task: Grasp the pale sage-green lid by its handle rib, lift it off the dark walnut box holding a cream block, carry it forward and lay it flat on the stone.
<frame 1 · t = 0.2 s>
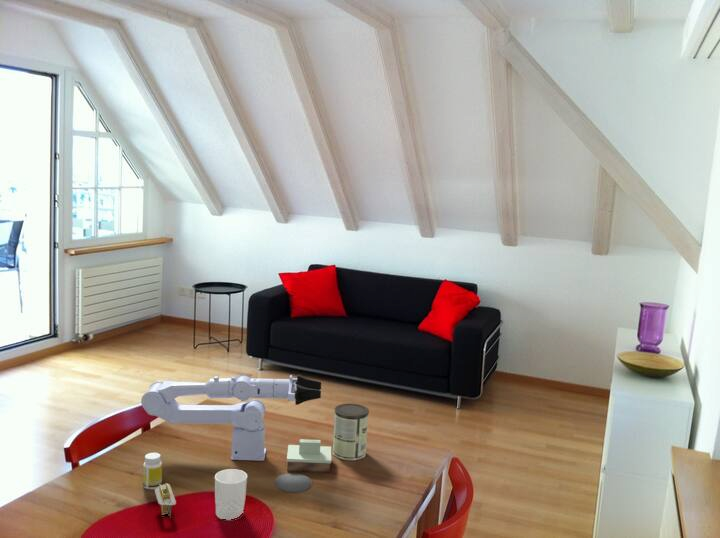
hand: (321, 389, 207), 21 cm above the table, tool horizontal, fingers open, 7 cm apart
lid: (309, 455, 205), point 3 cm above the table, touching box
box: (308, 464, 205), on the table
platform: (164, 513, 175), on the table
stone: (293, 483, 193), on the table
supplement bottle: (152, 486, 187), on the table
white cup: (229, 514, 176), on the table
coffee can: (348, 454, 215), on the table
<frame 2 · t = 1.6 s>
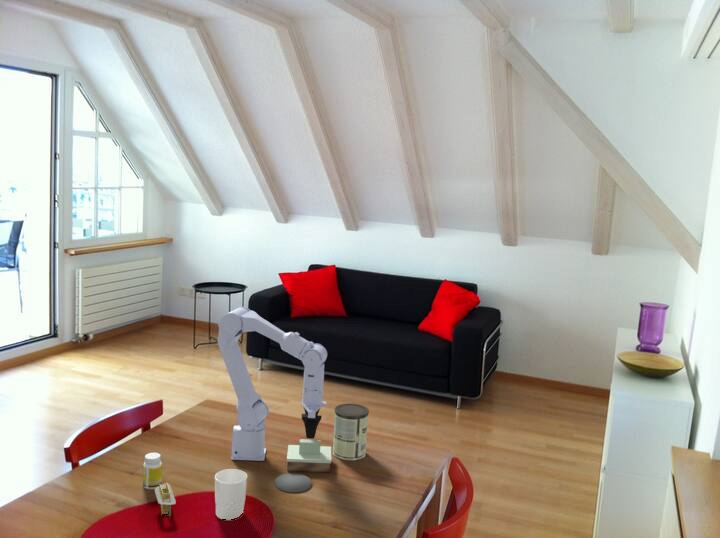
hand: (310, 432, 204), 10 cm above the table, tool pointing down, fingers open, 7 cm apart
nothing on the table moved.
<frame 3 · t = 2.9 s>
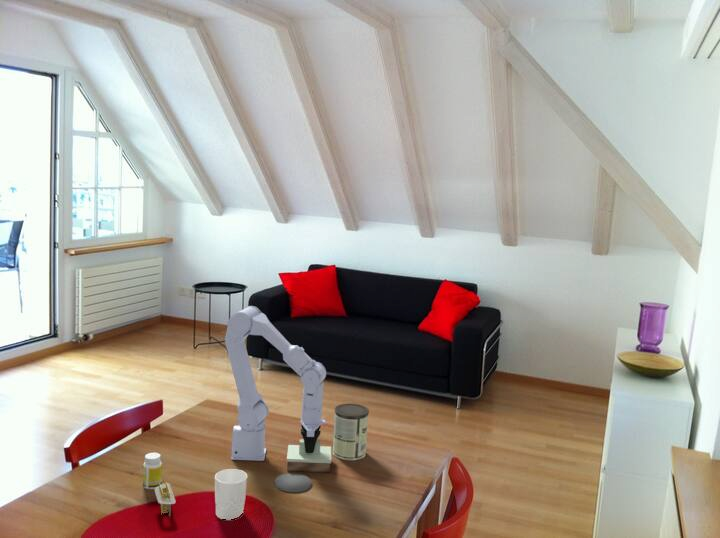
hand: (309, 450, 205), 4 cm above the table, tool pointing down, fingers closed on lid, 2 cm apart
lid: (309, 455, 205), point 3 cm above the table, touching box, gripper
everything else where it was.
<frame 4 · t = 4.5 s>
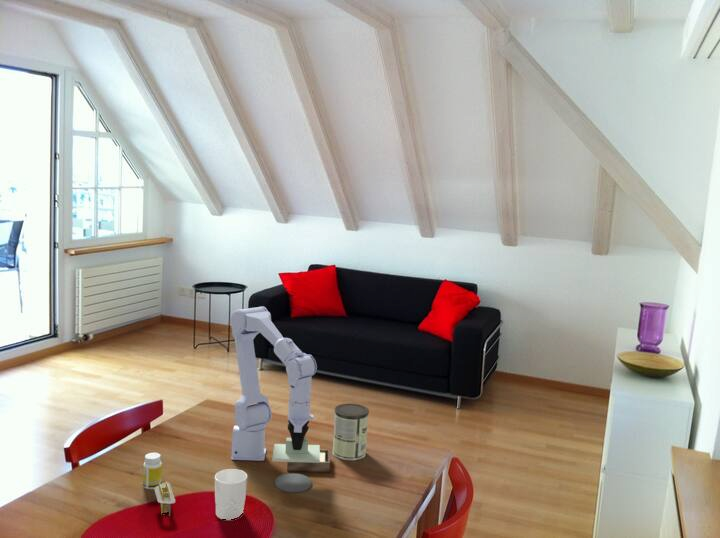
hand: (297, 447, 193), 10 cm above the table, tool pointing down, fingers closed on lid, 2 cm apart
lid: (296, 454, 193), point 8 cm above the table, touching gripper
everything else where it was.
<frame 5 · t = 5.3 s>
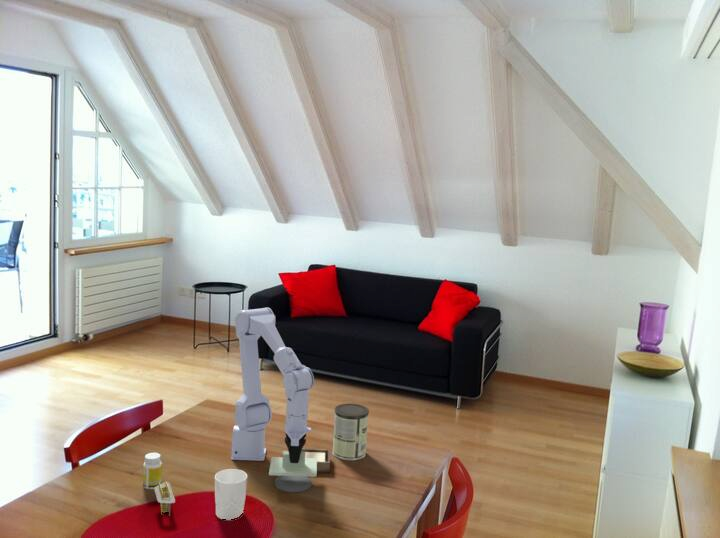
hand: (294, 460, 192), 7 cm above the table, tool pointing down, fingers closed on lid, 2 cm apart
lid: (293, 467, 192), point 5 cm above the table, touching gripper
everything else where it was.
when the fingers open (3 cm above the table, at t = 6.1 s): lid stays where it is, resting on stone.
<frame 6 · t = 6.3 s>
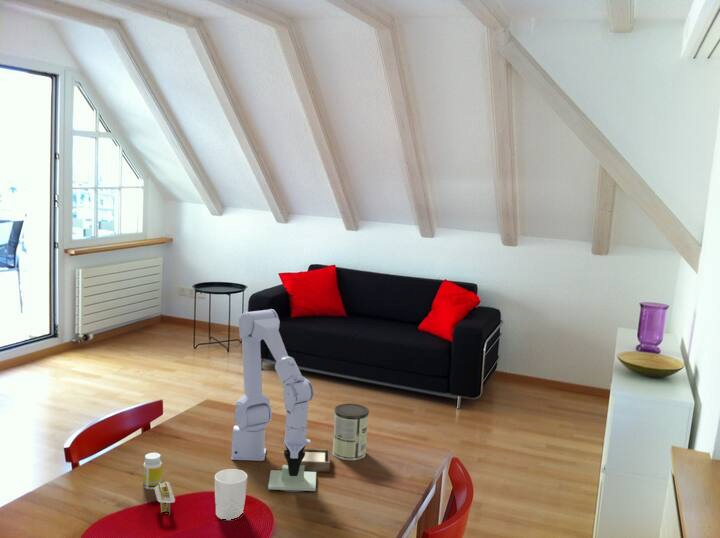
hand: (293, 472, 193), 3 cm above the table, tool pointing down, fingers open, 3 cm apart
lid: (292, 481, 193), point 1 cm above the table, touching stone
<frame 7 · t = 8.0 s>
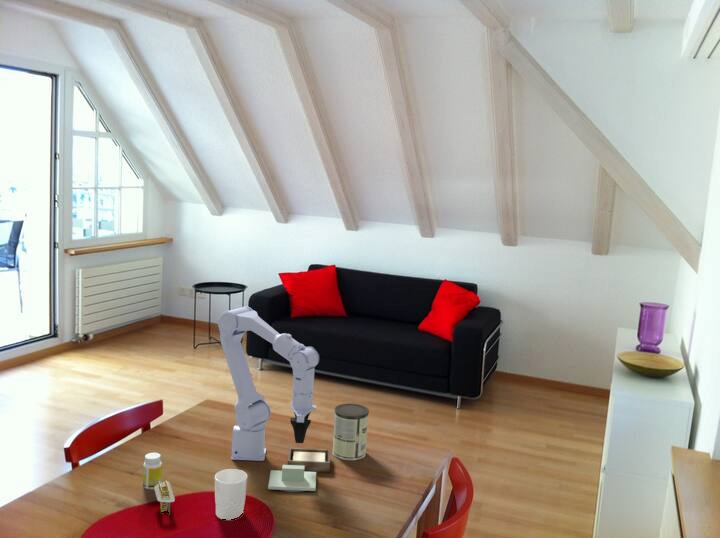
hand: (300, 437, 200), 10 cm above the table, tool pointing down, fingers open, 7 cm apart
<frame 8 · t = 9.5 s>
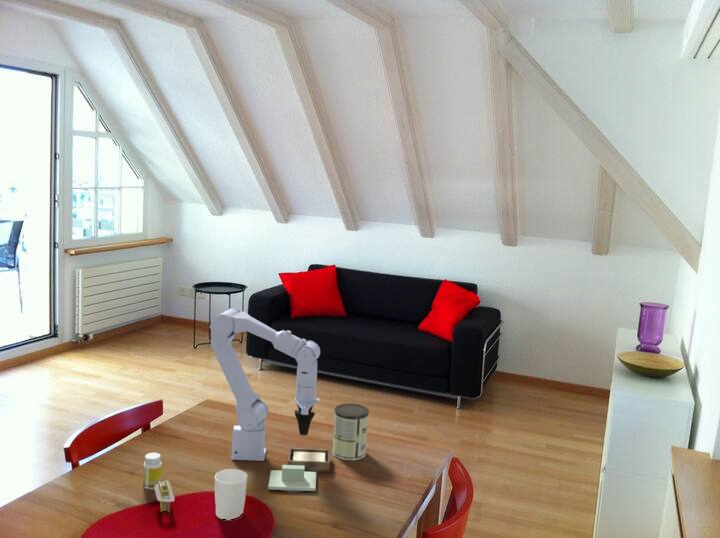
hand: (303, 429, 204), 10 cm above the table, tool pointing down, fingers open, 7 cm apart
at the end: lid inside the target area on the stone (0.2 cm from its centre), point 0.6 cm above the stone's base; lid tilted 0°; lid touching stone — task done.
